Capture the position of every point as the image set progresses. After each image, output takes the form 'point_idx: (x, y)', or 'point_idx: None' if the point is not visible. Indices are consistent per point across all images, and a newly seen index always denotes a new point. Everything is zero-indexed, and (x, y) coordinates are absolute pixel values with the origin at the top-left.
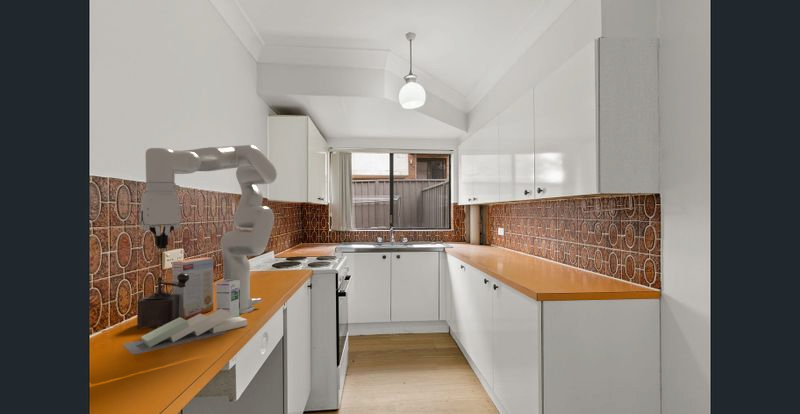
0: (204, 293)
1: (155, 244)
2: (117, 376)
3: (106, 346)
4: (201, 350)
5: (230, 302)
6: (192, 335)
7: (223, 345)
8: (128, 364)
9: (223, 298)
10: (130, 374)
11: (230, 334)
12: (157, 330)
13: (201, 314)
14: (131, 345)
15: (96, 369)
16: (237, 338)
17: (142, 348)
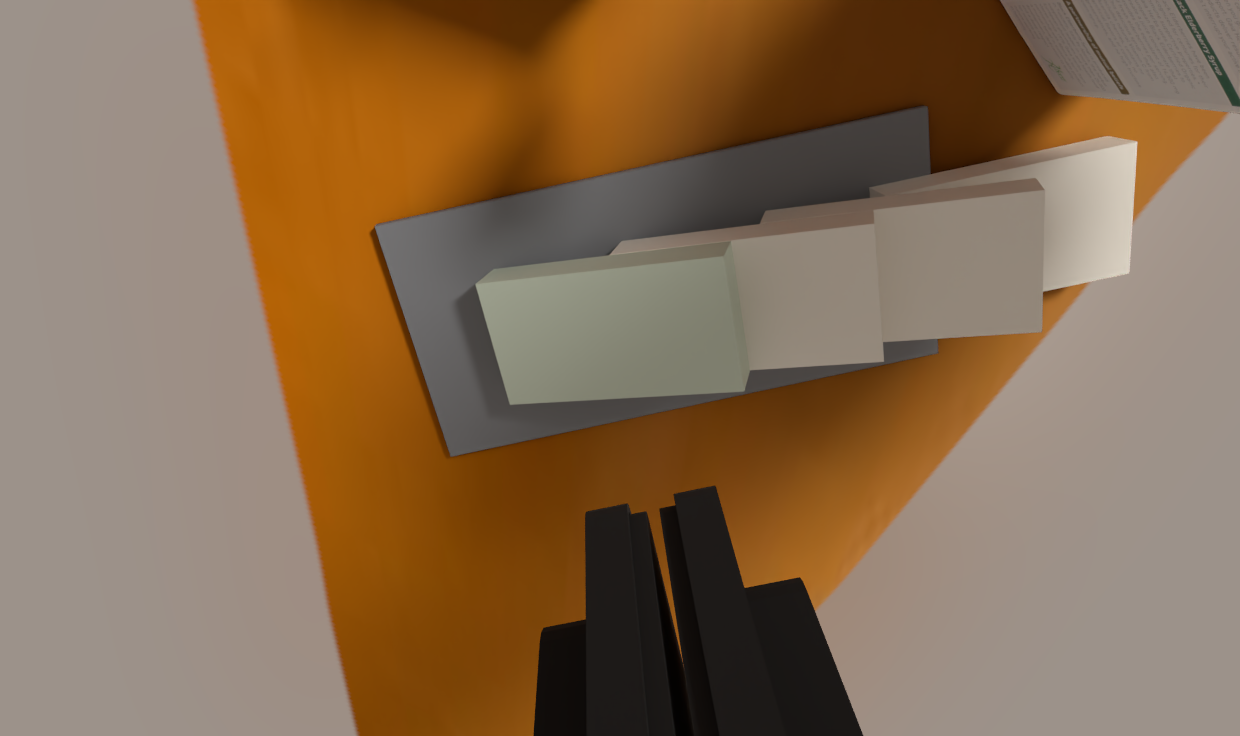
0: None
1: (541, 635)
2: (411, 651)
3: (286, 172)
4: (747, 532)
5: (1175, 105)
6: None
7: (853, 516)
8: (440, 545)
9: (1164, 50)
10: (456, 655)
11: (952, 355)
12: (568, 312)
13: (871, 262)
14: (430, 288)
15: (315, 537)
16: (951, 447)
17: (490, 381)
